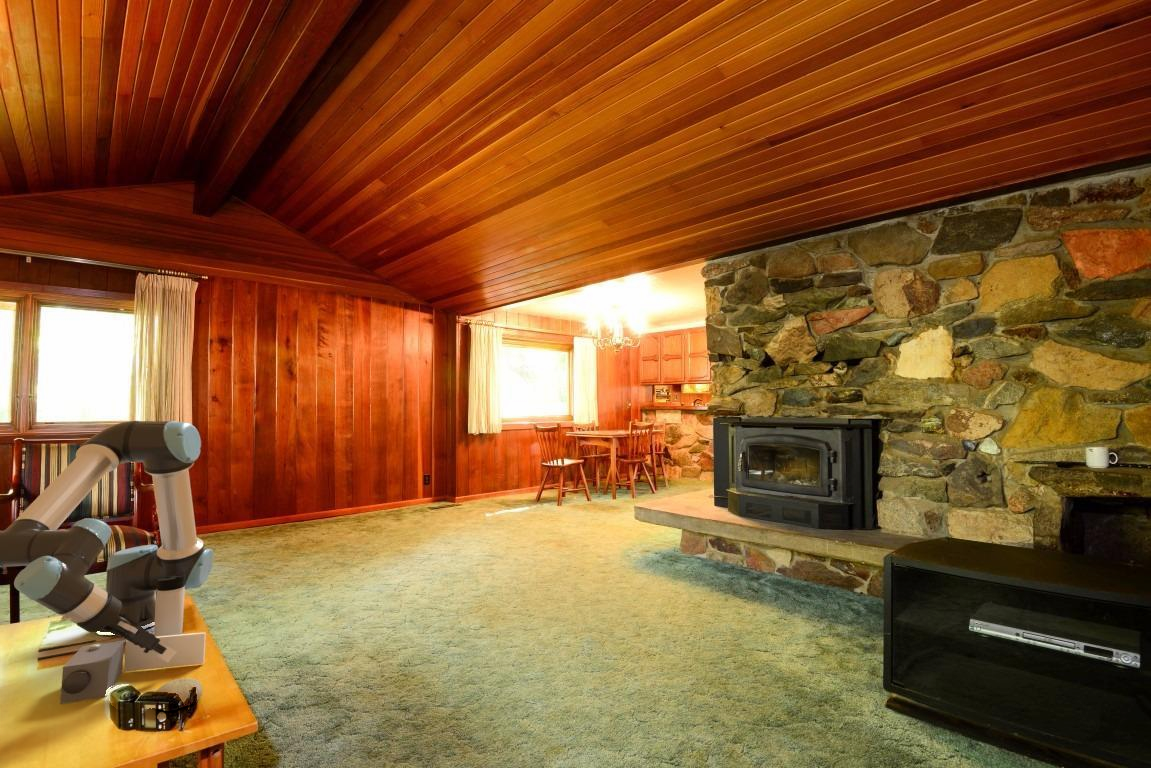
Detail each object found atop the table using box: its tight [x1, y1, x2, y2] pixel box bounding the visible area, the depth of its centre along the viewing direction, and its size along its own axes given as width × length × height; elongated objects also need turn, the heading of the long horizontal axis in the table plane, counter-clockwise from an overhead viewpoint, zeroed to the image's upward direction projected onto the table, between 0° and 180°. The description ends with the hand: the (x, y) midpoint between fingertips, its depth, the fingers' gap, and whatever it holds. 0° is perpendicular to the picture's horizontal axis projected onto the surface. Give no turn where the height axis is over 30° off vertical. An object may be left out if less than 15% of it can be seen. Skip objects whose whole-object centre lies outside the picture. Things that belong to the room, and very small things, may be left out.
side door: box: [123, 632, 207, 673], centre depth 138 cm, size 17×1×8 cm, turn 107°
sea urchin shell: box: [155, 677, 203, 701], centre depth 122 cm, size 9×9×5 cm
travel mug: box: [153, 574, 186, 637], centre depth 149 cm, size 6×7×20 cm
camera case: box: [59, 640, 125, 705], centre depth 127 cm, size 14×8×9 cm, turn 27°
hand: (170, 656), depth 134 cm, fingers closed
